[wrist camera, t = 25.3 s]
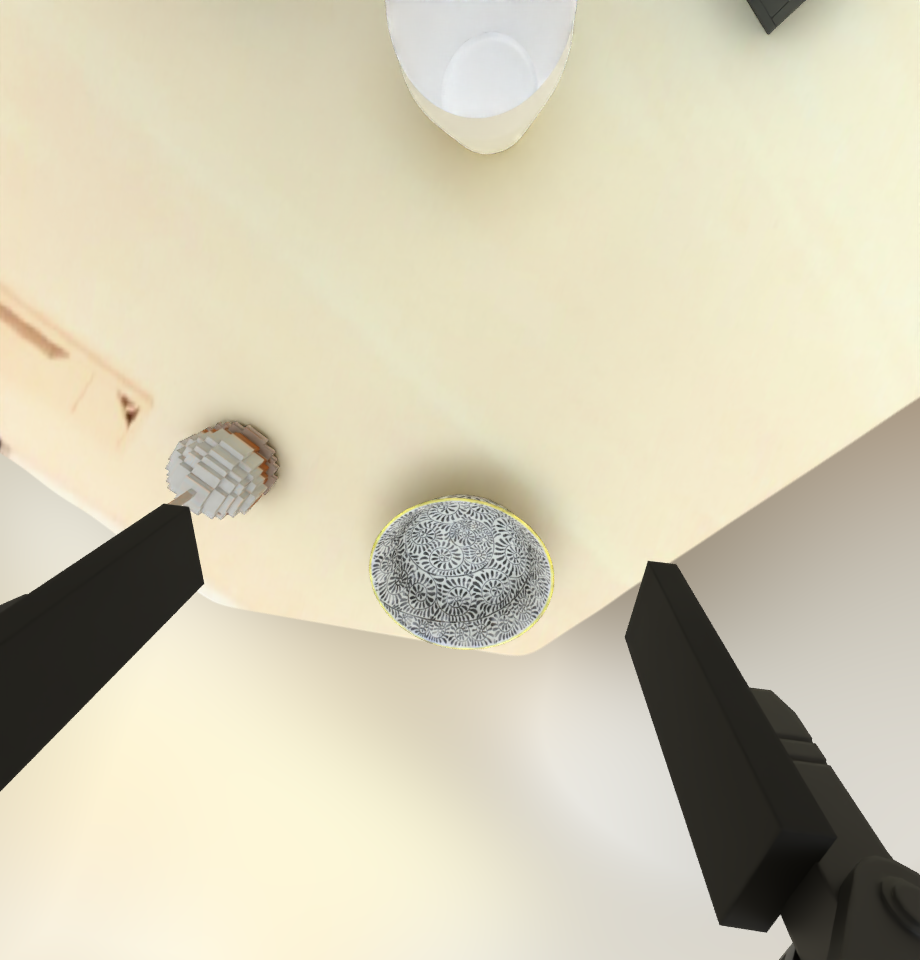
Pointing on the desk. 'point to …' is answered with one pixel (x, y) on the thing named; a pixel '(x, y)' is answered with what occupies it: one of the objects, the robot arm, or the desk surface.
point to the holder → (773, 11)
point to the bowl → (461, 572)
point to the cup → (482, 63)
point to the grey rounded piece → (221, 470)
